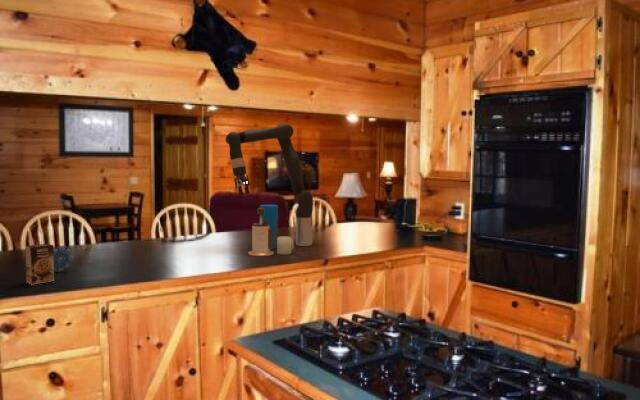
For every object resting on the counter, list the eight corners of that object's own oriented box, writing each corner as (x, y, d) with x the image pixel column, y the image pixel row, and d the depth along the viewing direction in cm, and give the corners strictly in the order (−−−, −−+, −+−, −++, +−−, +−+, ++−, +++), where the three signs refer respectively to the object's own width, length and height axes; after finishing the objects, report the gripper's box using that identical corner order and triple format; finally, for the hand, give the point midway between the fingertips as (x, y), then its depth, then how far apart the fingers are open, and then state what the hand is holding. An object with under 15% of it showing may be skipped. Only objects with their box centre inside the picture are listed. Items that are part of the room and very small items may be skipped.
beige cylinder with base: (266, 250, 310) (266, 221, 308) (278, 254, 298) (278, 224, 297) (244, 252, 302) (244, 223, 301) (255, 257, 290) (255, 226, 289)
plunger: (263, 246, 303) (263, 207, 302) (267, 247, 299) (267, 208, 297) (254, 246, 300) (254, 208, 299) (259, 248, 296) (259, 208, 294)
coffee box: (32, 286, 223) (30, 247, 222) (26, 283, 227) (24, 245, 226) (54, 282, 230) (53, 244, 228) (48, 279, 234) (47, 243, 233)
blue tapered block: (274, 249, 316) (274, 206, 313) (257, 248, 318) (257, 206, 315) (279, 245, 326) (279, 204, 324) (262, 245, 328) (262, 204, 326)
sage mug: (288, 251, 309) (288, 235, 308) (296, 253, 302) (296, 237, 302) (274, 252, 304) (274, 236, 303) (281, 255, 297) (281, 238, 296)
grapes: (72, 269, 256) (71, 244, 255) (74, 272, 250) (73, 246, 249) (44, 271, 250) (44, 246, 249) (45, 274, 244) (45, 248, 243)
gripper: (249, 164, 305) (255, 192, 305) (239, 167, 317) (245, 194, 317) (237, 166, 301) (243, 194, 301) (227, 169, 313) (233, 196, 313)
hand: (244, 194), depth 309 cm, fingers open, 8 cm apart
